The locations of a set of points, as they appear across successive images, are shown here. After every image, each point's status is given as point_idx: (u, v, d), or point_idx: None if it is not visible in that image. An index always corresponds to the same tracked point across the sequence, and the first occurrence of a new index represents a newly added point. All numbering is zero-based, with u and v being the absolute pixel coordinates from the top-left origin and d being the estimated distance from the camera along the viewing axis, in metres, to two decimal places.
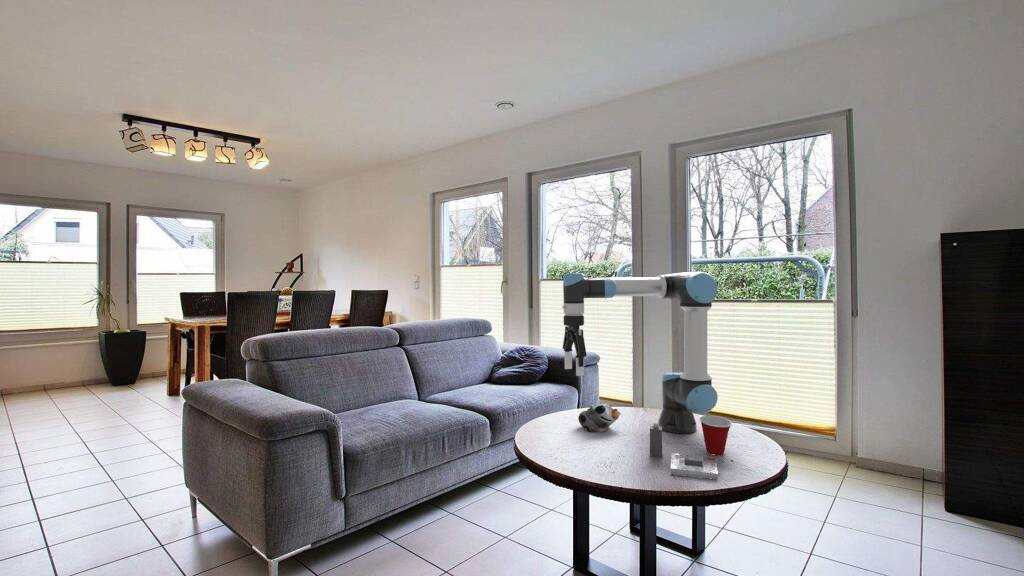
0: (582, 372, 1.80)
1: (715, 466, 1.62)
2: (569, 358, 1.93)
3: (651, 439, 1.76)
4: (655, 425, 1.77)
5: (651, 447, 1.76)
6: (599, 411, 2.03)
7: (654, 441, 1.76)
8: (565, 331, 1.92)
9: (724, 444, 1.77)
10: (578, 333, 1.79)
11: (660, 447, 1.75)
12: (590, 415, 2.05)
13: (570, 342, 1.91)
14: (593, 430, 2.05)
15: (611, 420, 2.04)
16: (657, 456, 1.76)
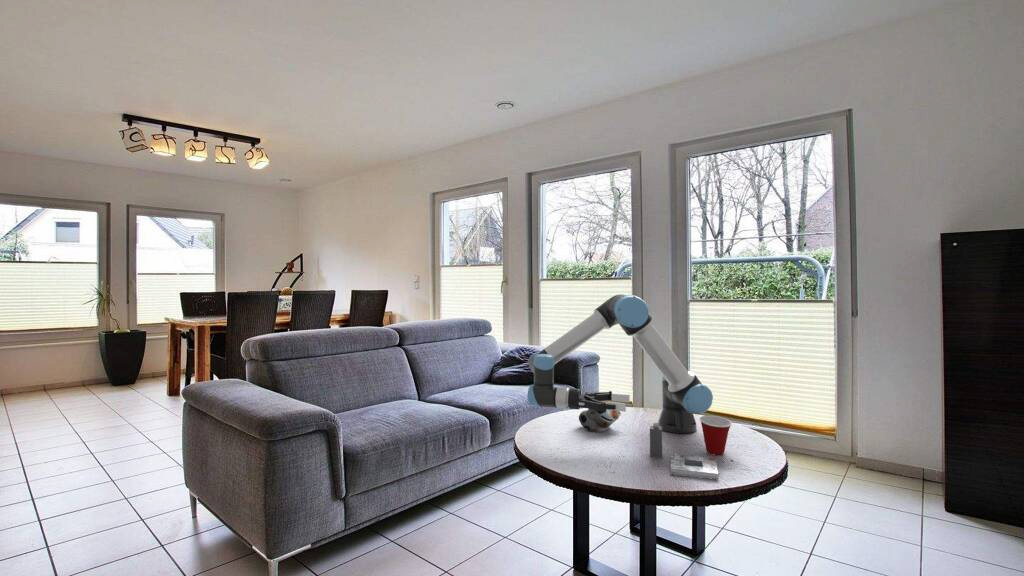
0: (622, 405, 1.74)
1: (715, 466, 1.62)
2: (618, 397, 1.88)
3: (651, 439, 1.76)
4: (655, 425, 1.77)
5: (651, 447, 1.76)
6: None
7: (654, 441, 1.76)
8: None
9: (724, 444, 1.77)
10: (582, 405, 1.79)
11: (660, 447, 1.75)
12: (591, 415, 2.05)
13: (600, 397, 1.88)
14: (594, 430, 2.05)
15: (612, 420, 2.04)
16: (657, 456, 1.76)
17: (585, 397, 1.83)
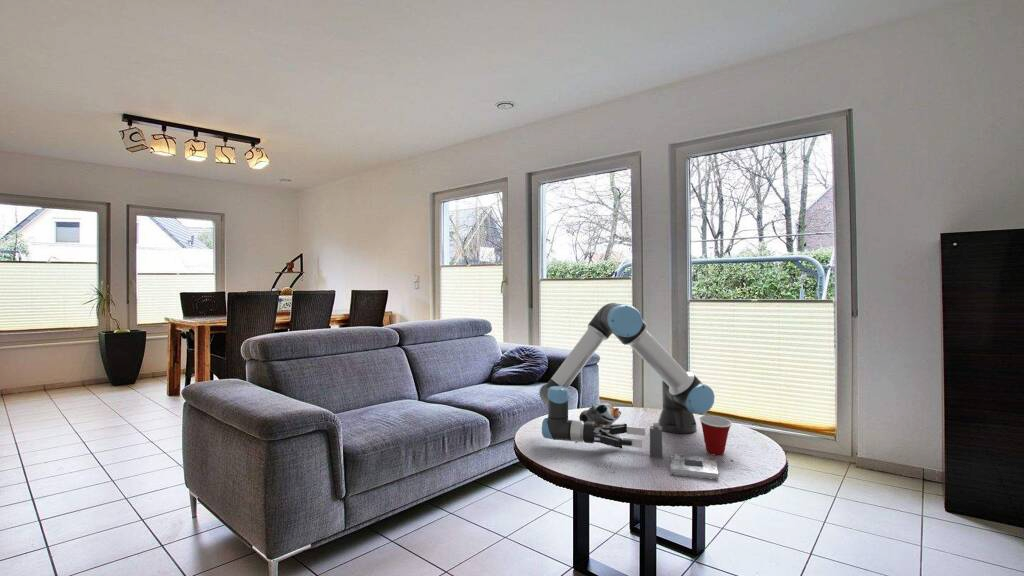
0: (638, 441, 1.72)
1: (715, 466, 1.62)
2: (633, 430, 1.86)
3: (651, 439, 1.76)
4: (655, 425, 1.77)
5: (651, 447, 1.76)
6: (600, 410, 2.04)
7: (654, 441, 1.76)
8: None
9: (724, 444, 1.77)
10: (597, 440, 1.77)
11: (660, 447, 1.75)
12: (592, 415, 2.06)
13: (615, 430, 1.86)
14: None
15: (612, 419, 2.05)
16: (657, 456, 1.76)
17: (600, 431, 1.81)
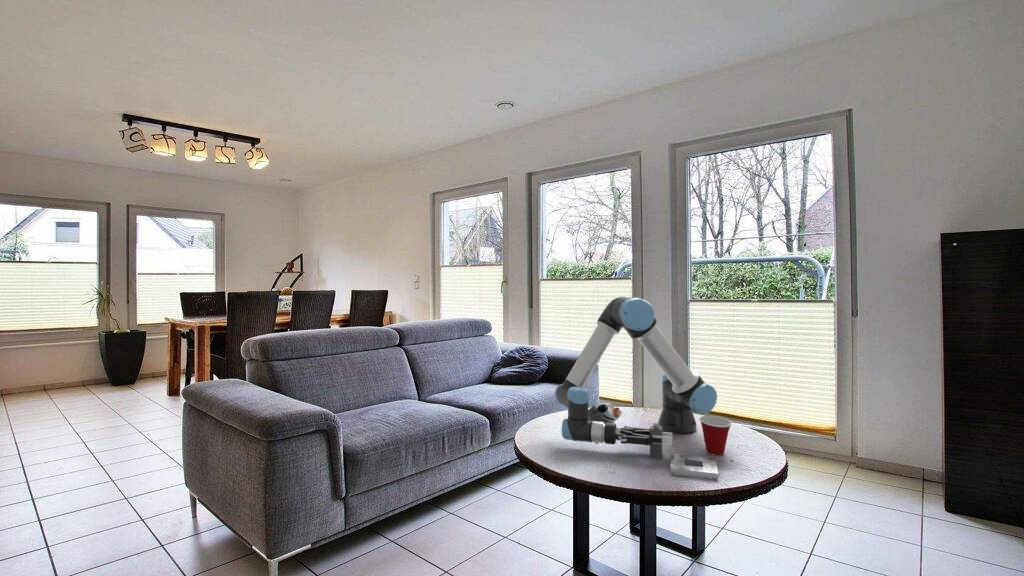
0: (668, 438, 1.74)
1: (715, 466, 1.62)
2: None
3: None
4: (655, 425, 1.77)
5: (651, 447, 1.76)
6: (601, 410, 2.04)
7: None
8: None
9: (724, 444, 1.77)
10: (625, 441, 1.75)
11: (660, 447, 1.75)
12: (593, 414, 2.06)
13: (638, 433, 1.81)
14: None
15: (613, 419, 2.06)
16: (657, 456, 1.76)
17: (623, 432, 1.79)
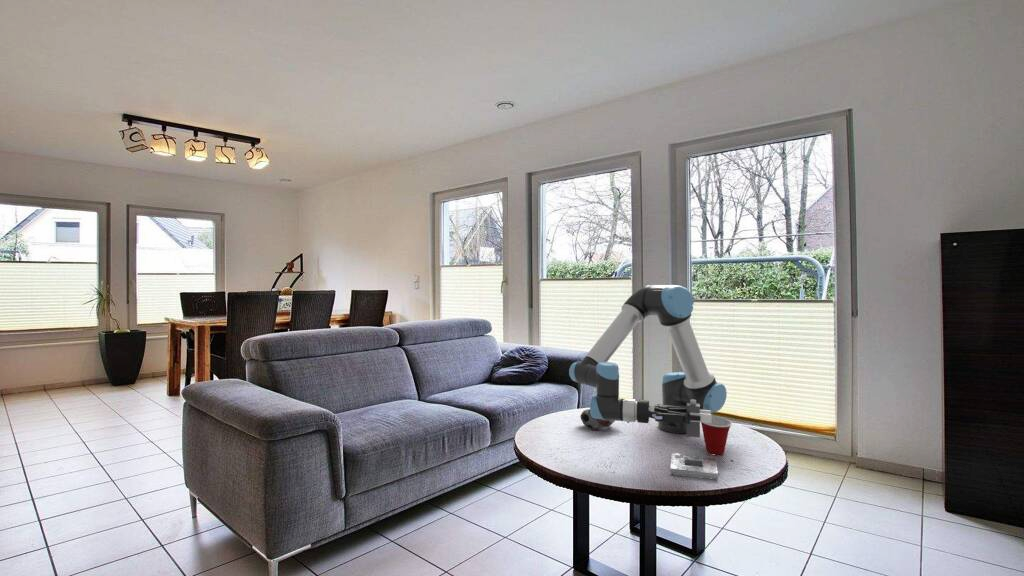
0: (707, 416, 1.61)
1: (715, 466, 1.62)
2: None
3: None
4: (692, 402, 1.64)
5: (688, 426, 1.64)
6: None
7: None
8: None
9: (724, 444, 1.77)
10: (660, 419, 1.62)
11: (697, 425, 1.63)
12: None
13: (673, 411, 1.69)
14: (596, 428, 2.07)
15: None
16: (695, 435, 1.63)
17: (657, 410, 1.67)
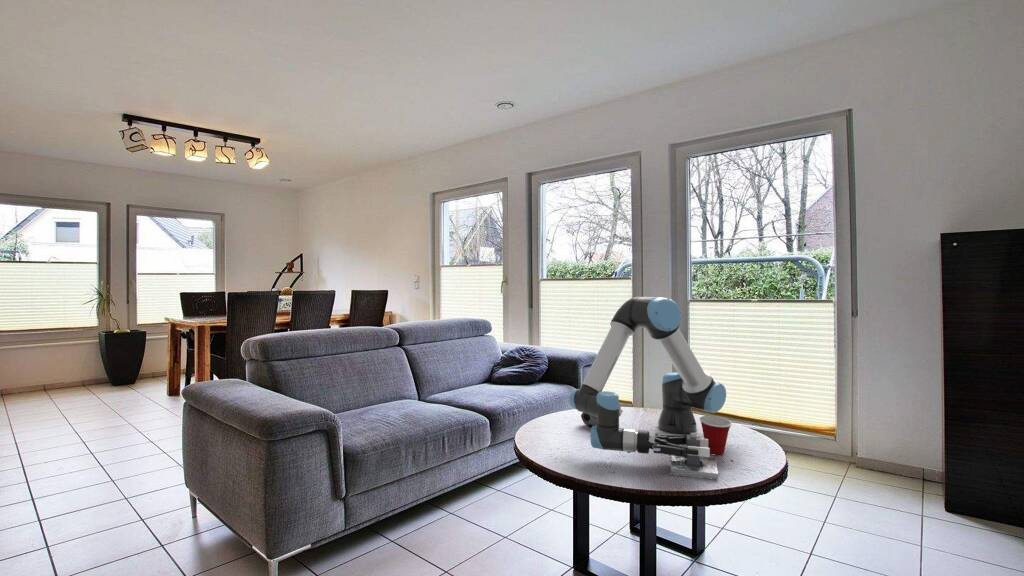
0: (705, 450, 1.59)
1: (715, 466, 1.62)
2: None
3: None
4: (692, 435, 1.64)
5: (688, 459, 1.64)
6: None
7: None
8: None
9: (724, 444, 1.77)
10: (658, 451, 1.62)
11: (698, 458, 1.63)
12: None
13: (673, 440, 1.70)
14: None
15: None
16: None
17: (657, 441, 1.67)
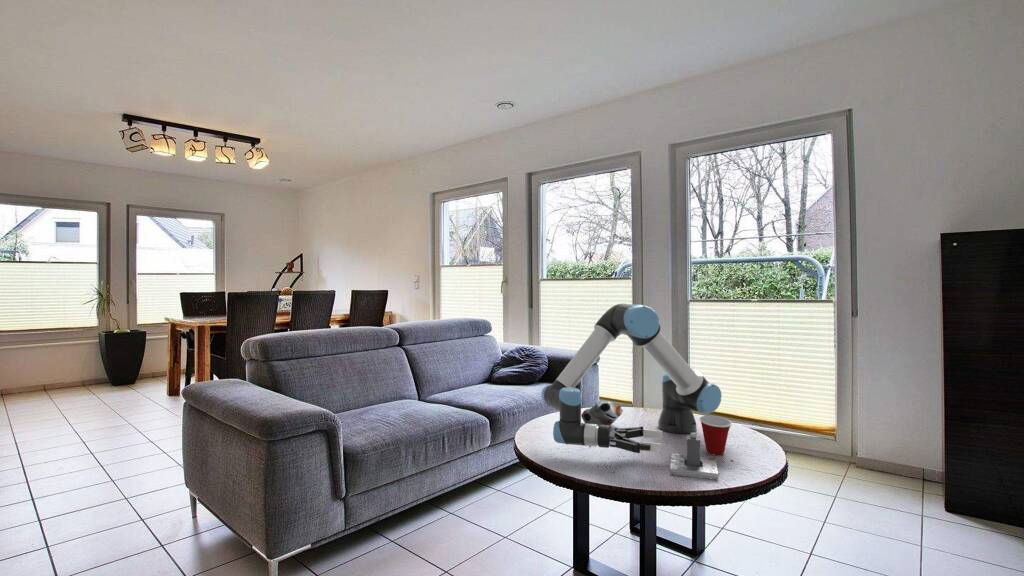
0: (657, 445, 1.62)
1: (715, 466, 1.62)
2: (650, 433, 1.76)
3: (688, 450, 1.64)
4: (692, 435, 1.64)
5: (688, 459, 1.64)
6: (604, 408, 2.07)
7: (692, 453, 1.63)
8: None
9: (724, 444, 1.77)
10: (613, 445, 1.66)
11: (698, 458, 1.63)
12: (595, 413, 2.08)
13: (631, 433, 1.76)
14: None
15: (615, 417, 2.08)
16: None
17: (616, 435, 1.71)
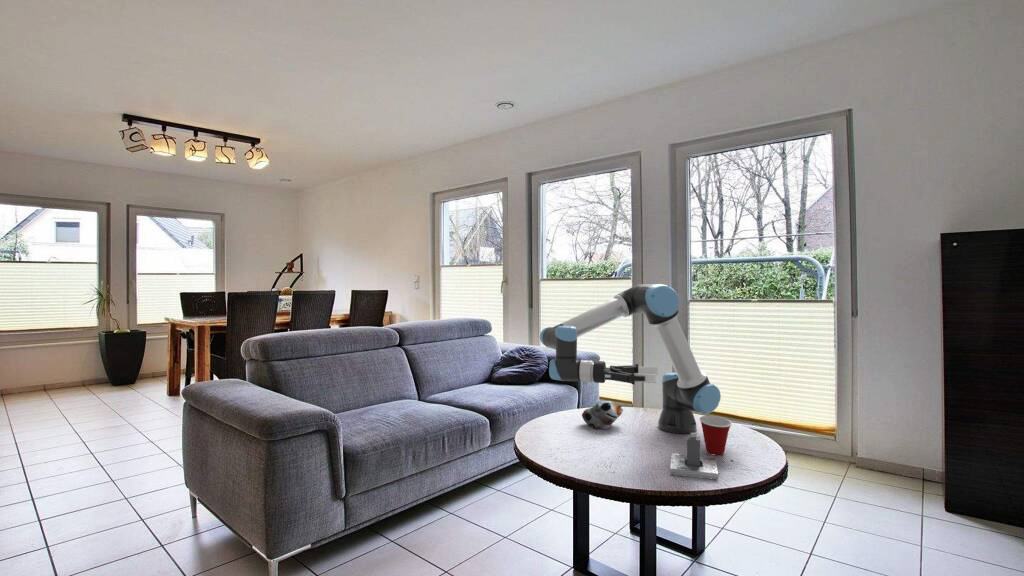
0: (651, 376, 1.64)
1: (715, 466, 1.62)
2: (645, 369, 1.77)
3: (688, 450, 1.64)
4: (692, 435, 1.64)
5: (688, 459, 1.64)
6: (605, 408, 2.07)
7: (692, 453, 1.63)
8: None
9: (724, 444, 1.77)
10: (608, 378, 1.68)
11: (698, 458, 1.63)
12: (596, 413, 2.09)
13: (626, 370, 1.77)
14: (599, 427, 2.08)
15: (616, 416, 2.09)
16: None
17: (611, 369, 1.73)
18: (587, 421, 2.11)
